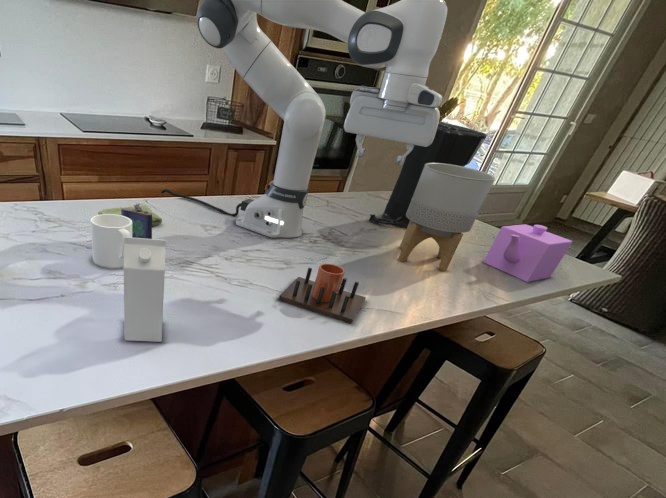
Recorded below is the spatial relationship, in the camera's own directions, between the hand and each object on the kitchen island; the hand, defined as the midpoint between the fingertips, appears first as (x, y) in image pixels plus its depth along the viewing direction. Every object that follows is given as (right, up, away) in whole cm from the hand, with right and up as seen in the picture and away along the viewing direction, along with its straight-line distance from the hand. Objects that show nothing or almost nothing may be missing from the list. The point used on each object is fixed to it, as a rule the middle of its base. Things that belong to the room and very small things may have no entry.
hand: (378, 160), depth 103 cm
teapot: (+58, -17, +36) cm, 71 cm away
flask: (-61, -13, +20) cm, 66 cm away
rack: (-13, -33, +4) cm, 35 cm away
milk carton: (-54, -43, -16) cm, 71 cm away
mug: (-65, -22, +8) cm, 69 cm away
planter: (+28, -13, +35) cm, 47 cm away
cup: (-12, -32, +3) cm, 34 cm away
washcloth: (-66, -2, +33) cm, 74 cm away
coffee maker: (+37, +12, +69) cm, 79 cm away
